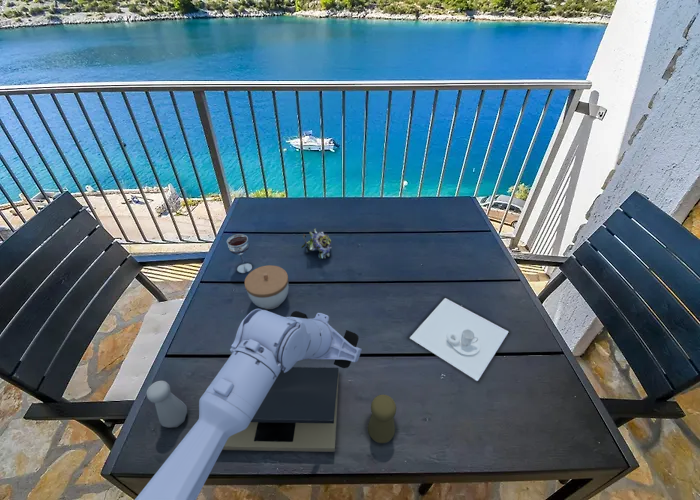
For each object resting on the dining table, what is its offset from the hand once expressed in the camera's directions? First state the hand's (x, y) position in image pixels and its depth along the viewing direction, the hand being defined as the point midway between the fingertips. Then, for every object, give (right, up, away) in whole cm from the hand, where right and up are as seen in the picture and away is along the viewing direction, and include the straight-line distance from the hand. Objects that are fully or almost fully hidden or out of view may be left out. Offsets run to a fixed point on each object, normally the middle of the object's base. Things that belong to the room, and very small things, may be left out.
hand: (333, 338), depth 63 cm
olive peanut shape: (+10, -24, +15) cm, 30 cm away
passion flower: (-9, +14, +63) cm, 65 cm away
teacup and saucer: (+34, -8, +35) cm, 49 cm away
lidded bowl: (-21, 0, +45) cm, 50 cm away
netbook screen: (-13, -16, +15) cm, 26 cm away
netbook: (-13, -21, +18) cm, 31 cm away
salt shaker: (-36, -23, +17) cm, 46 cm away
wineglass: (-33, +10, +57) cm, 67 cm away
